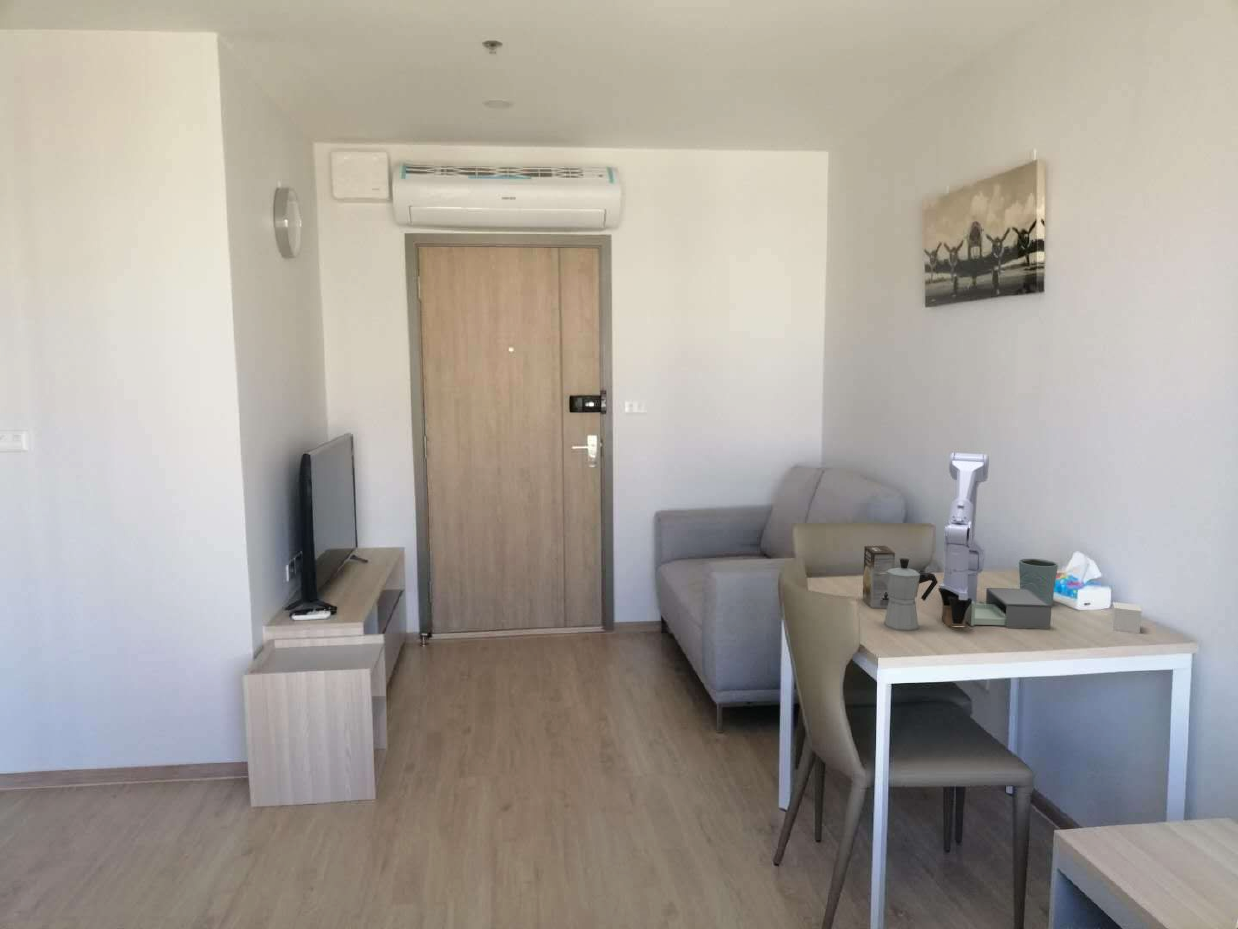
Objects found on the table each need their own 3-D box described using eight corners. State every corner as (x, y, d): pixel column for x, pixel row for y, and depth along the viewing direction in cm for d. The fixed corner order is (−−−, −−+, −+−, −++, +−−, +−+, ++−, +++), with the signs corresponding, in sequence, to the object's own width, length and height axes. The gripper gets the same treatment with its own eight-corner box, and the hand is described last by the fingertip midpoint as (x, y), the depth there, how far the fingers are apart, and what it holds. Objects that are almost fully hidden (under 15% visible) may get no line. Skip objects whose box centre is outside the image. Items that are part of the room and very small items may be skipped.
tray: (951, 607, 235) (953, 587, 234) (992, 609, 234) (994, 588, 233) (970, 625, 219) (971, 603, 218) (1014, 627, 218) (1015, 604, 217)
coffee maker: (879, 629, 216) (882, 561, 214) (873, 619, 225) (876, 554, 223) (939, 632, 214) (942, 564, 212) (931, 622, 223) (934, 556, 221)
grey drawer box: (985, 609, 234) (986, 587, 233) (1026, 611, 233) (1027, 589, 232) (1006, 627, 218) (1007, 604, 217) (1050, 629, 217) (1051, 605, 216)
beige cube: (1137, 627, 220) (1139, 605, 219) (1139, 633, 214) (1141, 611, 213) (1110, 623, 222) (1112, 601, 221) (1112, 630, 217) (1114, 607, 216)
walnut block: (941, 621, 223) (942, 605, 223) (959, 622, 223) (960, 606, 222) (946, 627, 219) (947, 610, 218) (964, 627, 218) (965, 611, 218)
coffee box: (861, 599, 244) (863, 545, 242) (883, 599, 244) (885, 545, 242) (870, 608, 235) (873, 552, 233) (893, 608, 235) (896, 552, 233)
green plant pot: (1027, 607, 236) (1030, 566, 235) (1009, 597, 246) (1012, 558, 245) (1062, 607, 236) (1065, 566, 235) (1043, 597, 246) (1046, 557, 245)
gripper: (932, 562, 226) (930, 610, 228) (948, 575, 212) (945, 627, 214) (959, 562, 226) (956, 611, 228) (977, 576, 212) (974, 628, 213)
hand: (953, 619), depth 221 cm, fingers open, 7 cm apart
